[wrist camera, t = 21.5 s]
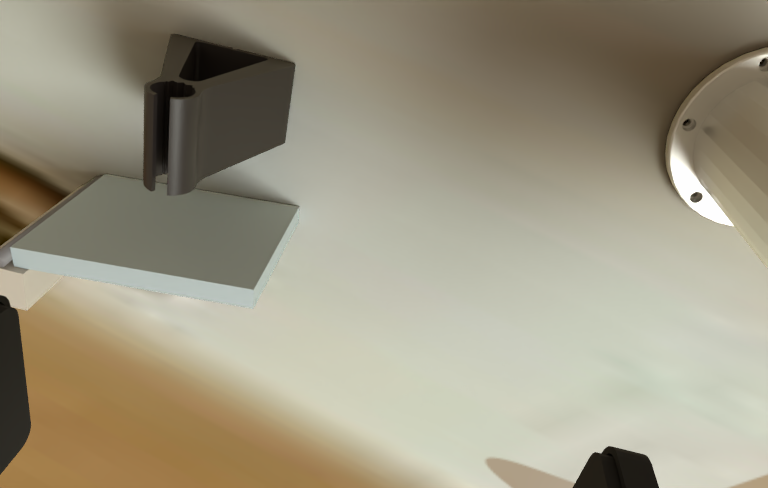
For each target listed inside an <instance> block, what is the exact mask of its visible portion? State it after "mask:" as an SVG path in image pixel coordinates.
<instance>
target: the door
mask: <svg viewBox="0 0 768 488" xmlns="http://www.w3.org/2000/svg"><path fill="white" fill-rule="evenodd" d="M298 220H299V206H293V205H287V204H281V203H275V202H269V201H263V200H257V199H251V198H245V197H240V196H234V195H228V194H222V193H216V192H210V191H204V190H198V189H193V190H192V191H191V192H189V193H187V194H183V195H176V196H168V195H167V184H163V183H157V182H155V190H154V191H152V192H151V191H149V190H148V189H147V188H146V187H145V186H144V184H143V180H139V179H133V178H127V177H121V176H115V175H109V174H105V175H103V176H96V177H95V178H93V179H92V180H91V181H89V182H88V183H87V184H85V185H84V186H83V187H81V188H80V189H79V190H77V191H76V192H75V193H73V194H72V195H71V196H69V197H68V198H67V199H65V200H64V201H63V202H61V203H60V204H59V205H57V206H56V207H55V208H53V209H52V210H51V211H50V212H48V213H47V214H46V215H44V216H43V217H42V218H40V219H39V220H38V221H36V222H35V223H34V224H32V225H31V226H30V227H28V228H27V229H26V230H24V231H23V232H22V233H20V234H19V235H18V236H16V237H15V238H14V239H12V240H11V241H10V242H8V243H7V244H6V245H4V246H3V247H2V248H1V249H0V267H4V266H5V265H7V264H8V263H9V262H10V261H12V260H13V264H14V267H18V268H24V269H30V270H35V271H41V272H47V273H52V274H58V275H64V276H69V277H75V278H81V279H86V280H92V281H98V282H103V283H109V284H115V285H120V286H126V287H132V288H137V289H143V290H149V291H154V292H160V293H166V294H171V295H177V296H182V297H188V298H194V299H199V300H205V301H211V302H216V303H222V304H228V305H233V306H239V307H245V308H250V309H254V307H255V305H256V303H257V301H258V299H259V297H260V295H261V293H262V291H263V289H264V288H265V286H266V284H267V282H268V280H269V278H270V276H271V274H272V272H273V270H274V268H275V267H276V265H277V263H278V261H279V259H280V257H281V255H282V253H283V251H284V249H285V247H286V246H287V244H288V242H289V240H290V238H291V236H292V234H293V232H294V230H295V228H296V226H297V225H298Z"/></svg>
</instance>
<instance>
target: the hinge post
mask: <svg viewBox="0 0 768 488" xmlns="http://www.w3.org/2000/svg"><path fill="white" fill-rule="evenodd" d="M83 186H84V185H81V186H80V187H79V188H77V189H76V190H75V191H73V192H72V193H71V194H69V195H68V196H67V197H65V198H64V199H63V200H61V201H60V202H59V203H57V204H56V205H55V206H53V207H52V208H51V209H49V210H48V211H47V212H45V213H44V214H43V215H41V216H40V217H39V218H37V219H36V220H35V221H33V222H32V223H31V224H29V225H28V226H27V227H25V228H24V229H23V230H21V231H20V232H19V233H17V234H16V235H15V236H13V237H12V238H11V239H9V240H8V241H7V242H5V243H4V244H3V245H1V246H0V249H1V248H2V247H3V246H4V245H6V244H7V243H8V242H10V241H11V240H12V239H14V238H15V237H16V236H18V235H19V234H20V233H22V232H23V231H24V230H26V229H27V228H28V227H30V226H31V225H32V224H34V223H35V222H36V221H38V220H39V219H40V218H42V217H43V216H44V215H46V214H47V213H48V212H50V211H51V210H52V209H53V208H55V207H56V206H57V205H59V204H60V203H61V202H63V201H64V200H65V199H67V198H68V197H69V196H71V195H72V194H73V193H75V192H76V191H77V190H79V189H80V188H81V187H83ZM63 276H64V275H58V274H52V273H47V272H41V271H35V270H30V269H24V268H18V267H14V264H13V260H12V261H10V262H9V263H8V264H7V265H5V266H4V267H0V295H2V296H5V297H7V299H8V300H9V302H10V305H11V307H14V308H18V309H22V310H26V311H27V310H28V309H29V308H30V307H31V306H32V305H34V304H35V303H36V302H37V301H38V300H39V299H40V298H41V297H42V296H43V295H44V294H45V293H46V292H47V291H48V290H50V289H51V288H52V287H53V286H54V285H55V284H56V283H57V282H58V281H59V280H60V279H61V278H62V277H63Z"/></svg>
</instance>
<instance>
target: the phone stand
mask: <svg viewBox="0 0 768 488" xmlns="http://www.w3.org/2000/svg"><path fill="white" fill-rule="evenodd" d="M294 71H295V64H294V63H291V62H287V61H283V60H279V59H275V58H271V57H267V56H263V55H259V54H255V53H251V52H247V51H243V50H238V49H232V48H230V47H226V46H222V45H218V44H214V43H210V42H206V41H202V40H198V39H194V38H190V37H186V36H182V35H177V34H172V35H171V36H170V41H169V45H168V49H167V53H166V57H165V61H164V65H163V69H162V74H161V76H160V77H159V78H157V79H156V80H154V81H151V82H148V83H147V84H145V86H144V162H143V184H144V186H145V187H146V188H147V189H148V190H149V191H151V192H152V191H154V190H155V177H156V176H157V175H162V174H168V178H167V195H168V196H176V195H183V194H187V193H189V192H191V191H192V190H193V189H194V188H195V186H196V184H197V183H198V182H199V181H200V180H202V179H203V178H205V177H207V176H210V175H212V174H214V173H216V172H219V171H221V170H223V169H226V168H228V167H230V166H233V165H235V164H237V163H240V162H242V161H244V160H247V159H249V158H251V157H254V156H256V155H258V154H261V153H263V152H265V151H268V150H270V149H272V148H275V147H277V146H279V145H282V144H284V143H285V137H286V130H287V123H288V115H289V108H290V101H291V93H292V86H293V78H294Z"/></svg>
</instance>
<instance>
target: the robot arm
mask: <svg viewBox="0 0 768 488" xmlns="http://www.w3.org/2000/svg"><path fill="white" fill-rule="evenodd" d="M762 59H765V60H764V62H763V64H761V65H759V63H760V61H761V60H762ZM687 119H689V121H688V123H686V124H683V122H684V121H685V120H687ZM665 158H666V166H667V172H668V174H669V177H670V180H671V183H672V185H673V186H674V188H675V190H676V191H677V193H678V194H679V196H680V197H681V198H682V200H683V201H684V202H685V203H686V204H687V205H688V206H689V207H690V208H691V209H693V210H694V211H695V212H697V213H698V214H699V215H701V216H703V217H705V218H707V219H709V220H711V221H713V222H716V223H720V224H724V225H728V226H734V227H735V228H736V229H737V231H738V232H739V233H740V235H741V236H742V237H743V238H744V240H745V241H746V242H747V243H748V245H749V246H750V247H751V249H752V250H753V251H754V252H755V254H756V255H757V256H758V257H759V259H760V260H761V261H762V263H763V264H764V265H765V266H766V268H767V269H768V47H766V48H762V49H759V50H756V51H753V52H749V53H746V54H744V55H741V56H739V57H737V58H735V59H733V60H731V61H729V62H727V63H725V64H724V65H722V66H721V67H719V68H718V69H716V70H715V71H714V72H712V73H711V74H709V75H708V76H707V77H706V78H705V79H704V80H702V81H701V82H700V83H699V84H698V85H697V86H696V87H695V88H694V89H693V90H692V91H691V93H690V94H689V95H688V97H687V98H686V99H685V100H684V102H683V103H682V104H681V106H680V108H679V110H678V111H677V113H676V115H675V117H674V119H673V121H672V123H671V127H670V130H669V133H668V136H667V141H666V151H665ZM694 192H696V193H695V194H693V195H691V194H692V193H694ZM30 428H31V421H30V412H29V403H28V395H27V386H26V377H25V368H24V360H23V351H22V342H21V333H20V325H19V316H18V312H17V310H16V309H15V308H12V307H11V305H10V302H9V300H8V299H7V297H5V296H2V295H0V474H1V473H2V472H3V471H4V469H5V468H6V467H7V466H8V464H9V463H10V462H11V461H12V460H13V458H14V457H15V456H16V455H17V453H18V452H19V451H20V450H21V448H22V447H23V445H24V444H25V442H26V440H27V438H28V436H29V433H30ZM573 488H659V486H658V483H657V480H656V477H655V474H654V470H653V467H652V464H651V462H650V460H649V458H648V457H647V456H646V455H643V454H639V453H635V452H631V451H627V450H623V449H619V448H615V447H611V446H608V447H607V448H605V449H604V451H603V452H602V454H600V453H596V452H595V453H593V454H592V455H591V456H590V458H589V460H588V462H587V463H586V465H585V467H584V469H583V470H582V472H581V474H580V476H579V478H578V479H577V481H576V483H575V485H574V486H573Z"/></svg>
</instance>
